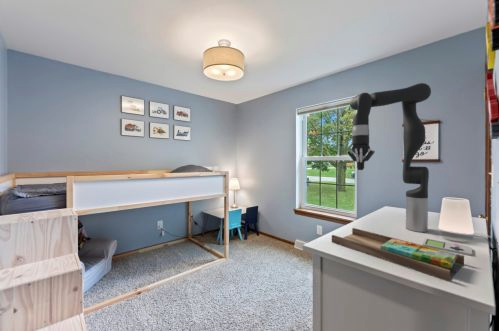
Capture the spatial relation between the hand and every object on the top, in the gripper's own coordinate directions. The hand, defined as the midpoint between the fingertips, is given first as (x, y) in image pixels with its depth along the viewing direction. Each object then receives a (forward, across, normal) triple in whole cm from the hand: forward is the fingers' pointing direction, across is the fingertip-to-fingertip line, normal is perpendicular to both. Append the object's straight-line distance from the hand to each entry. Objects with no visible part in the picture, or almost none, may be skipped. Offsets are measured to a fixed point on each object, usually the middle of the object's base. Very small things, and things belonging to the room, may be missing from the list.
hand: (360, 169), depth 109 cm
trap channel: (+32, -18, +12) cm, 39 cm away
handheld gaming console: (+33, -30, -12) cm, 46 cm away
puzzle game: (+32, -27, +13) cm, 44 cm away
